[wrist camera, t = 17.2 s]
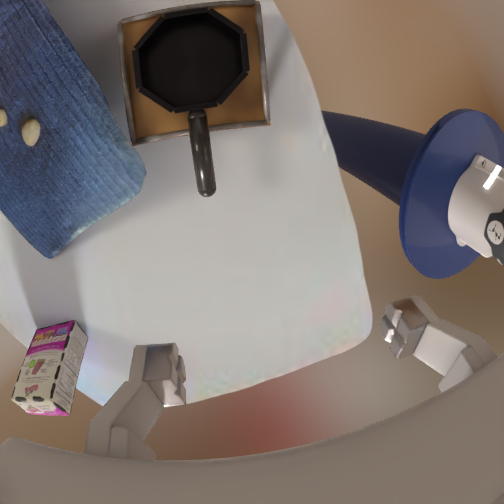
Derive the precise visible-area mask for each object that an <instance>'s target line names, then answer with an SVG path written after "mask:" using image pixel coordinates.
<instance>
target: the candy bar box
mask: <svg viewBox="0 0 504 504" xmlns="http://www.w3.org/2000/svg"><path fill="white" fill-rule="evenodd" d="M87 340H88V337H87V335H86V334H85V333H84V332H83V331H82V329H81V328H80V327H79V325H78V324H77V323H76V321H75V320H73V321H69V322H65V323H61V324H57V325H54V326H50V327H46V328H41V329H37V330H36V332H35V335H34V337H33V339H32V341H31V344H30V346H29V349H28V351H27V354H26V356H25V359H24V362H23V365H22V367H21V370H20V373H19V376H18V379H17V382H16V384H15V388H14V391H13V394H12V397H11V400H12V401H13V402H15V403H16V404H17V405H18V406H19V407H21V408H22V409H24V411H25V412H27V413H29V414H36V415H66V416H68V415H69V416H70V414H71V408H72V403H73V398H74V393H75V388H76V383H77V378H78V375H79V371H80V367H81V362H82V359H83V355H84V351H85V347H86V344H87Z"/></svg>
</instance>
